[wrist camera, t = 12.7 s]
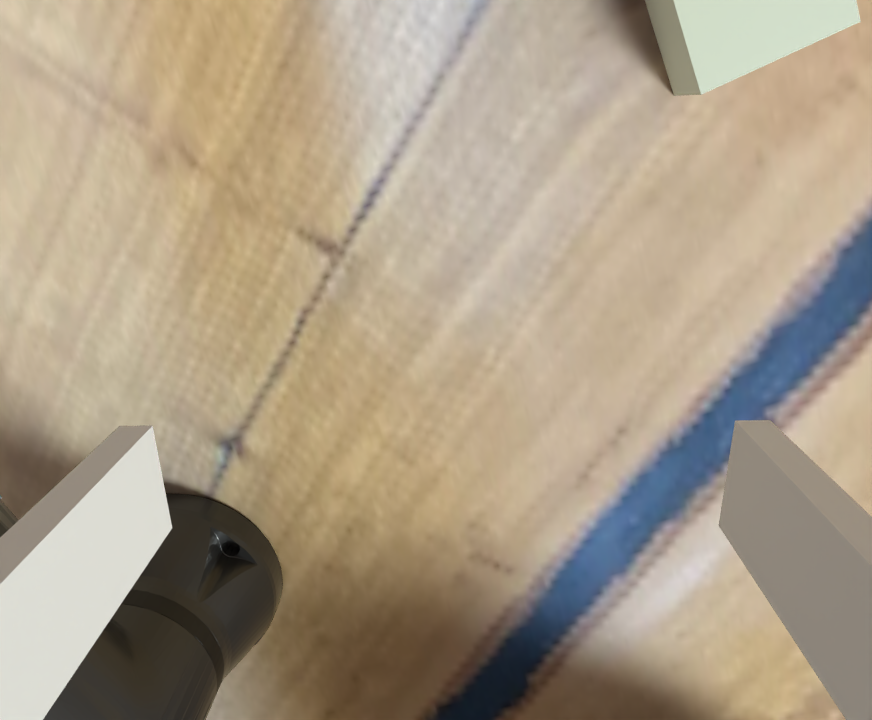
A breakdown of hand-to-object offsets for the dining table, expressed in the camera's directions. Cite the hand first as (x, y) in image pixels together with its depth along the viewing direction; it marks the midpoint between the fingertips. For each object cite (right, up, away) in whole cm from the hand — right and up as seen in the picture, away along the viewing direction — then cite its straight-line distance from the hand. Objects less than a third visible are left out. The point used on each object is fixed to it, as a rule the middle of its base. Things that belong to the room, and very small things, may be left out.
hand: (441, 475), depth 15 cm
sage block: (+16, +23, +21) cm, 35 cm away
